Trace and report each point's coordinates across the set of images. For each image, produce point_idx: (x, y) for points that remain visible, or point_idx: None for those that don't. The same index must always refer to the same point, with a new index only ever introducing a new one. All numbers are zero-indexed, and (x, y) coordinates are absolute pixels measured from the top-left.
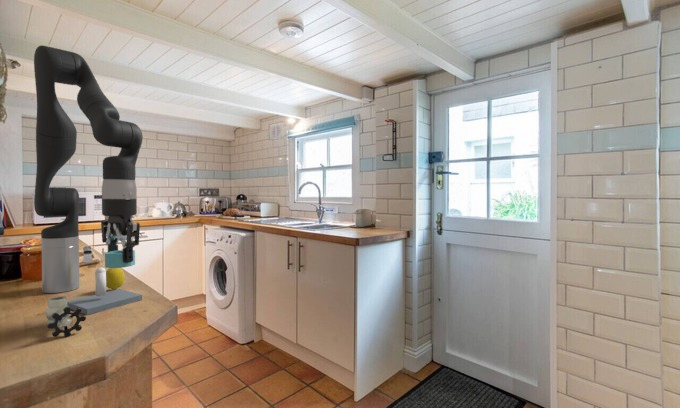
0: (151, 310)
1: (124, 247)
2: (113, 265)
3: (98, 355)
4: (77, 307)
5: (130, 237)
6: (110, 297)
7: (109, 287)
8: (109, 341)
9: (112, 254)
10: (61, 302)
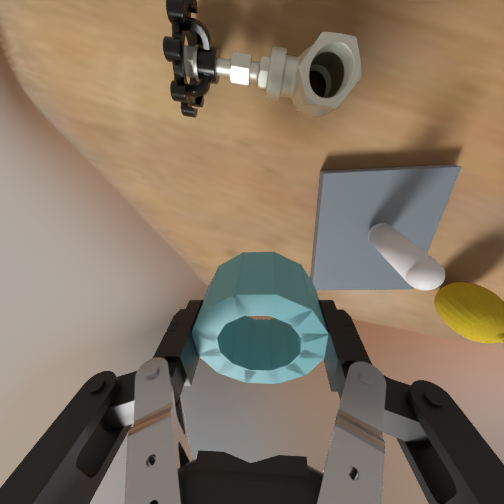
0: (224, 259)
1: (147, 363)
2: (223, 268)
3: (25, 73)
4: (378, 169)
5: (40, 449)
6: (365, 247)
7: (452, 283)
8: (96, 125)
9: (215, 303)
10: (298, 79)
